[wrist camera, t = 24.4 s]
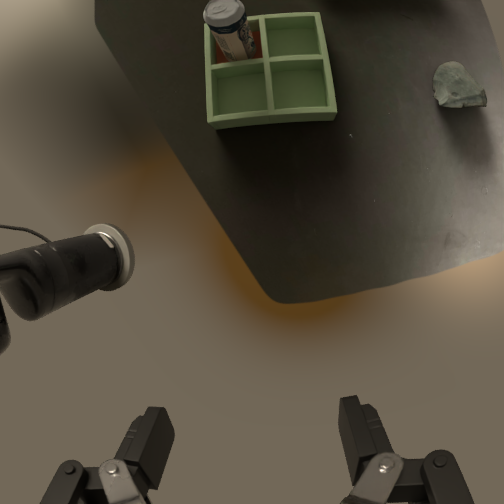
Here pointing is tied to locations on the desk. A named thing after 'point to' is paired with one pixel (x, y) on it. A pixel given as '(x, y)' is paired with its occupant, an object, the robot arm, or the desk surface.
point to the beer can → (230, 29)
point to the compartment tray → (272, 75)
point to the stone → (457, 87)
